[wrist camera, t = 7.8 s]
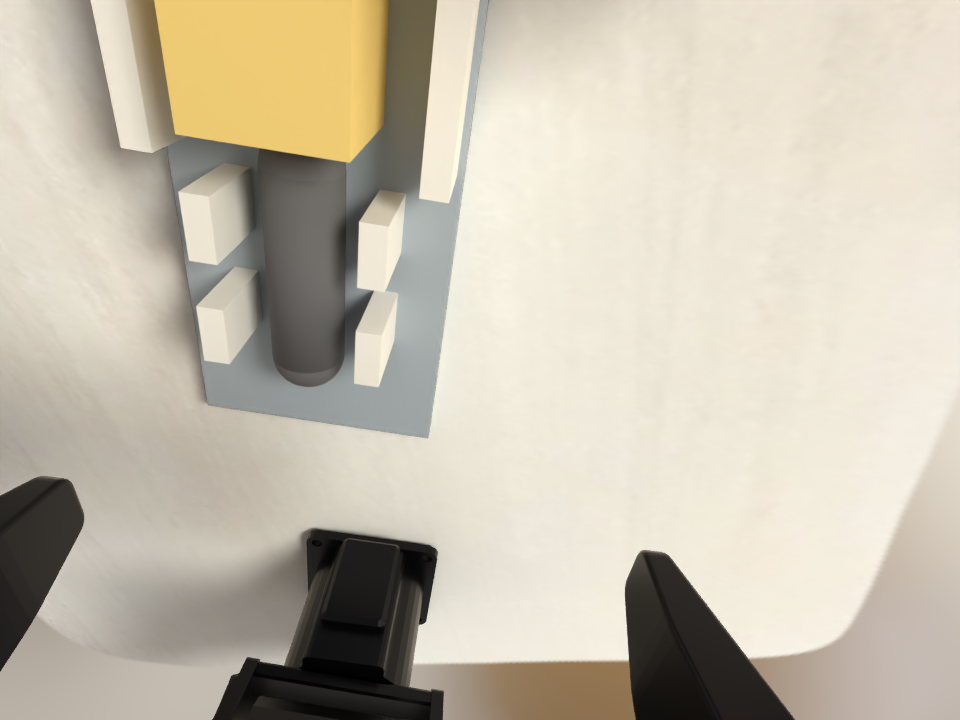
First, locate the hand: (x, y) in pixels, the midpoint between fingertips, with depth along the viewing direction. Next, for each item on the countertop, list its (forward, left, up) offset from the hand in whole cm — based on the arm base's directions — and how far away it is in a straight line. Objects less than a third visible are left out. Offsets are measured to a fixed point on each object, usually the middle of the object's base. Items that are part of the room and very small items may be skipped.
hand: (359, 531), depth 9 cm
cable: (+1, +4, -11) cm, 12 cm away
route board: (+1, +4, -12) cm, 13 cm away
